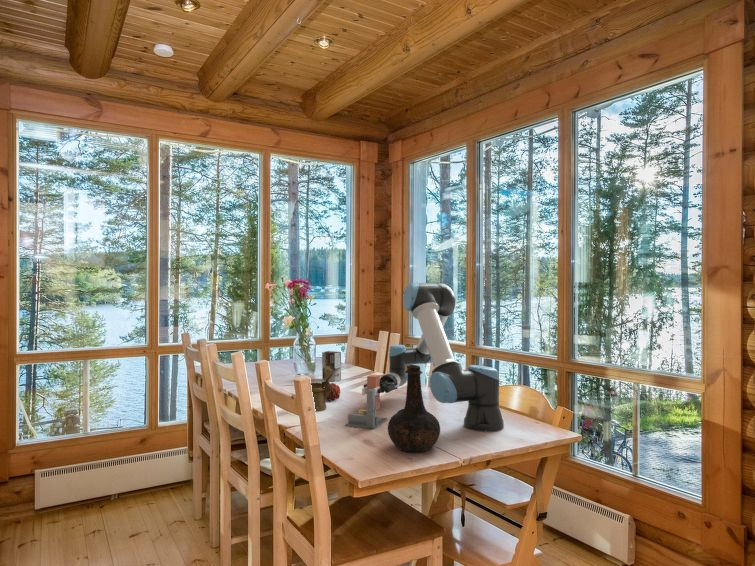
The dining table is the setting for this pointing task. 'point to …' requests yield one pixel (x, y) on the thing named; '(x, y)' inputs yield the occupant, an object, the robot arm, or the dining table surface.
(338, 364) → the coffee box
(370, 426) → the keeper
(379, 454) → the dining table surface
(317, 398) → the brass mortar and pestle
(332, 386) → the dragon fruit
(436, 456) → the dining table surface
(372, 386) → the link bar
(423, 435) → the glass bottle
